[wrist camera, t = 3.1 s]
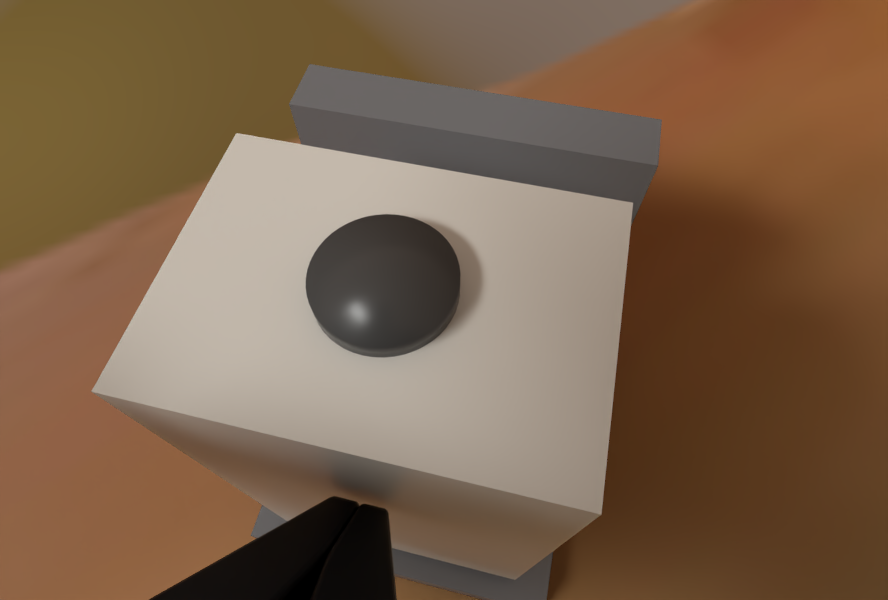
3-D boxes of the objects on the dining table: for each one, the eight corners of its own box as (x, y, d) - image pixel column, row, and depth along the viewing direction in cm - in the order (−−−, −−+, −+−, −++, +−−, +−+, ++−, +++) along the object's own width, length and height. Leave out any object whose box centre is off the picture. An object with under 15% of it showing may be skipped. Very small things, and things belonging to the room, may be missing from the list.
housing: (538, 614, 14) (624, 599, 7) (262, 541, 15) (102, 465, 8) (581, 314, 18) (661, 119, 11) (360, 270, 19) (310, 64, 12)
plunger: (514, 579, 13) (608, 508, 6) (286, 520, 14) (75, 381, 6) (541, 415, 15) (639, 187, 7) (338, 370, 16) (230, 117, 8)
